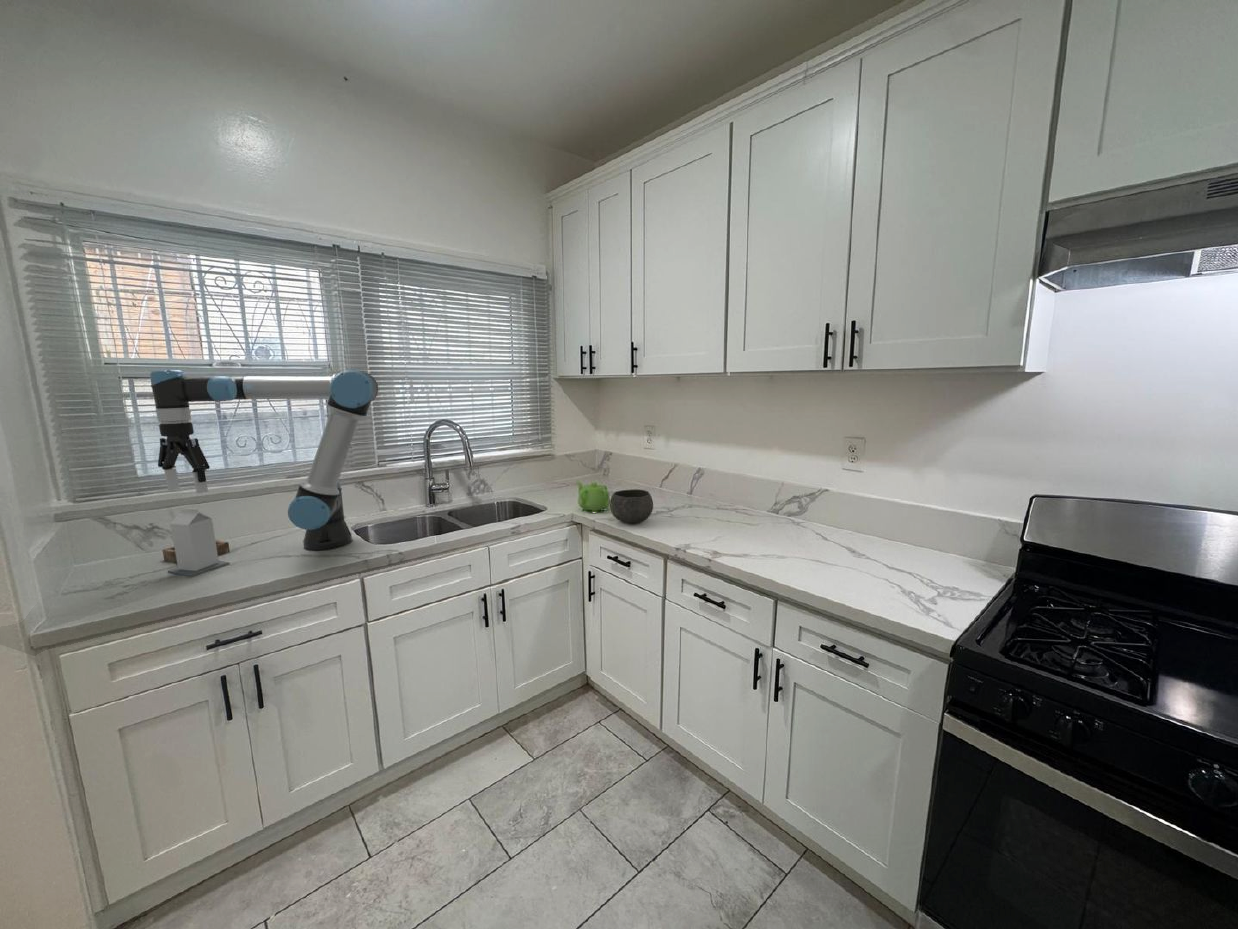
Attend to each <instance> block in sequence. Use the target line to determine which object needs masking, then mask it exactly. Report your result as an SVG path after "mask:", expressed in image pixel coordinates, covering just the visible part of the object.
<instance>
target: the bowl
mask: <svg viewBox="0 0 1238 929" xmlns="http://www.w3.org/2000/svg"><path fill="white" fill-rule="evenodd" d="M609 509H610V513H611V514H612V516H613V517H614V518H615V519H616V520H618V521H619V522H621V523H625V524H627V523H628V524H627V525H637V524H636V523H638V524H641V523H643V522H644V521H646V520H648V519H649V517H650V516H651V514H652V513H653V509H654V500H653V498H652V494H651V493H650V492H649V491H647V490H645V489H637V488H634V489H622V490H617V491H615V492H613V493H612V495H611V497H610V504H609Z"/></svg>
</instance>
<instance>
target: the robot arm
mask: <svg viewBox="0 0 1238 929" xmlns="http://www.w3.org/2000/svg"><path fill="white" fill-rule="evenodd" d="M149 374H150V387H151V390H152V394H153V399H154V405H155V412H156V419H157V422H159V423H160V424H158V427H159V428H158V430H159V432H160V433H159V434H160V436H161V437H160V438H159V443H160V444H159V452H158V458H157V460H158V461H157V466H158V468H162V470H164V471H163V472H164V476H165V482H166V488H167V492H168V491H175V490H180V483H179V478H178V472H177V467H176V465H175V464H176V462H177V459H178V458H179V454H180V455H181V456H184V458H185V459H186V461H187V462H188V463H189V465H190V467H191V468H192V469H193V470H192V475H193V480H194V486H195V487H194V488H195V493H196V494H202V493H207V492H209V489H208V484H207V477H206V471H207V470H209V469H210V467H211V466H210V464H209V462H208V460H207V458H206V456H205V454H204V452H203V450H202V448H201V446H200V444H199V439H198V438H196V437H195V438H190V435H194V433H195V432H194V431H195V430H194V427H193V425H194V424H193V422H191V420H192V416H191V415H192V414H191V413H192V411H191V410H190V403H194V402H219V403H220V402H222V403H223V402H228V401H229V402H230V401H237V400H327V403H326V405H327V407H328V409H329V410H330V411H329V415H328V418H327V421H326V423H325V426H324V428H323V432H322V436H321V438H320V440H319V444H318V447H317V450H316V453H315V456H314V459H313V461H312V464H311V467H310V471H309V473H308V476H307V479H305V480H304V481H301V482H300V483H299V485H298V489H297V492H296V495H295V497H294V499H293V500H292V501H291V502H290V504H289V506H288V509H287V517H288V519H289V521H290V522H291V523H292V524H293V526H295V527H297V528H298V529H299V528H300V529H303V530H305V533H304V538H303V541H302V542H303V548H304V549H305V550H308V551H323V550H324V551H325V550H326V551H327V550H332V549H336V548H340V547H343V546H346V545H348V544H350V543H351V542H352V541H353V537H352V532H351V530H350V529H349V526H348V525H347V523H346V520H345V515H344V514H345V513H344V512H345V511H344V504H343V494H342V493H343V492H342V490H343V489H342V486H341V483H340V481H339V480H340V478H341V475H342V474H341V473H342V471H343V468H344V464H345V462H346V459H347V456H348V454H349V451H350V448H351V445H352V441H353V439H354V436H355V433H356V430H357V427H358V425H359V422H360V420H361V419H363V418H366V417H367V414H368V411H369V408H370V406H371V403H372V402H373V401H374V400H375V399H376V397H377V396H378V393H379V385H378V382H377V380H376V379H375V378H374V376H372V375H371V374H370V373H369V372H365V371H363V370H355V369H347V370H343V371H341V372H339V373H333V375H332V376H234V375H229V376H228V375H227V376H223V375H214V376H213V375H209V376H207V375H206V376H205V375H204V376H186V375H185V374H184V371H183V370H181V369H155V370H152V371H151V372H150V373H149Z"/></svg>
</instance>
